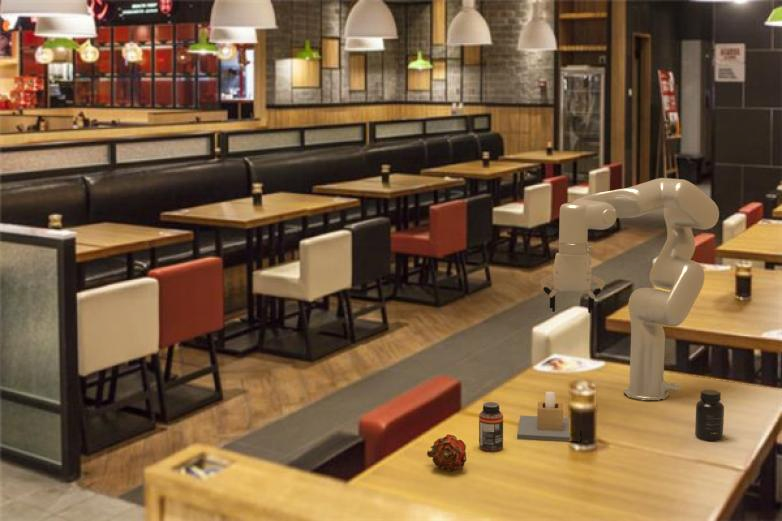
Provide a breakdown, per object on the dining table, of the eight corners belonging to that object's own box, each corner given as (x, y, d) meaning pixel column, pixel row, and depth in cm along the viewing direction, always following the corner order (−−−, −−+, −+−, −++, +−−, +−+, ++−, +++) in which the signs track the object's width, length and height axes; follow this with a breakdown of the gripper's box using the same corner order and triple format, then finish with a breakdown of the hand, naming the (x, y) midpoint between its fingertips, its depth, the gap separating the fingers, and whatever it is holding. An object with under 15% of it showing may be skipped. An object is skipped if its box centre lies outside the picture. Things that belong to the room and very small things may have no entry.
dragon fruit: (453, 484, 230) (439, 473, 241) (481, 460, 231) (465, 450, 243) (430, 456, 228) (417, 446, 240) (459, 432, 230) (444, 423, 242)
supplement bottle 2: (690, 433, 259) (692, 388, 258) (716, 432, 260) (718, 387, 258) (700, 442, 253) (702, 396, 251) (727, 441, 253) (729, 395, 251)
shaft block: (580, 422, 269) (581, 385, 267) (581, 442, 253) (582, 403, 252) (520, 419, 271) (520, 383, 270) (517, 438, 256) (517, 400, 254)
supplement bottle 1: (486, 442, 253) (486, 399, 252) (507, 447, 250) (508, 403, 248) (474, 449, 248) (474, 405, 247) (495, 454, 245) (496, 409, 243)
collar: (562, 422, 265) (563, 402, 264) (562, 430, 258) (563, 410, 258) (537, 421, 266) (538, 401, 265) (537, 429, 260) (537, 408, 259)
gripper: (605, 247, 273) (603, 309, 276) (540, 246, 276) (539, 307, 279) (606, 251, 266) (604, 315, 269) (540, 250, 269) (538, 313, 271)
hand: (571, 311), depth 274 cm, fingers open, 9 cm apart
